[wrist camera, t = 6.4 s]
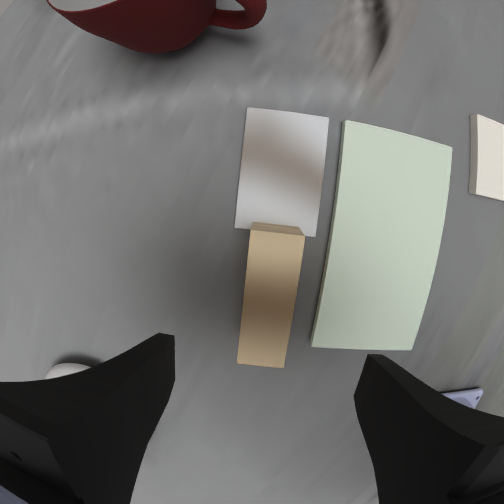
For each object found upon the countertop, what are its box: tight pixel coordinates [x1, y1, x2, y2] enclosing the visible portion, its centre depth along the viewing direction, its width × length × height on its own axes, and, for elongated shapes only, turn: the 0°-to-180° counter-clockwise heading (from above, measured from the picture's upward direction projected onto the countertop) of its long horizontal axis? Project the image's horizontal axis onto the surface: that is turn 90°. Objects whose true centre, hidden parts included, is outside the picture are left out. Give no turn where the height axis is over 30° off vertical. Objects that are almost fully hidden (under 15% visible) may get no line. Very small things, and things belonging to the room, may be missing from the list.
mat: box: [310, 120, 452, 350], centre depth 19 cm, size 15×8×1 cm, turn 174°
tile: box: [469, 114, 504, 201], centre depth 17 cm, size 1×6×6 cm
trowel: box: [235, 108, 329, 368], centre depth 18 cm, size 15×5×4 cm, turn 174°
